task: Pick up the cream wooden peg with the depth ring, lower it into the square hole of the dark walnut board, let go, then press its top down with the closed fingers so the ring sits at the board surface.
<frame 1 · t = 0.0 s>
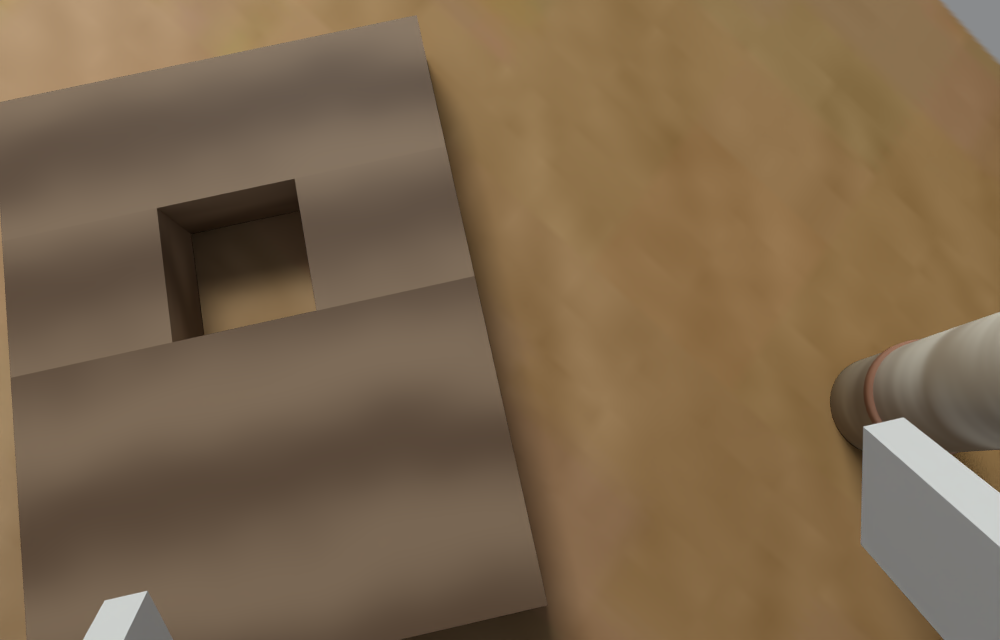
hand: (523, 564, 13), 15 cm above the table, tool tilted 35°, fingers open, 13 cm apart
peg: (879, 406, 28), on the table
board: (272, 346, 29), on the table
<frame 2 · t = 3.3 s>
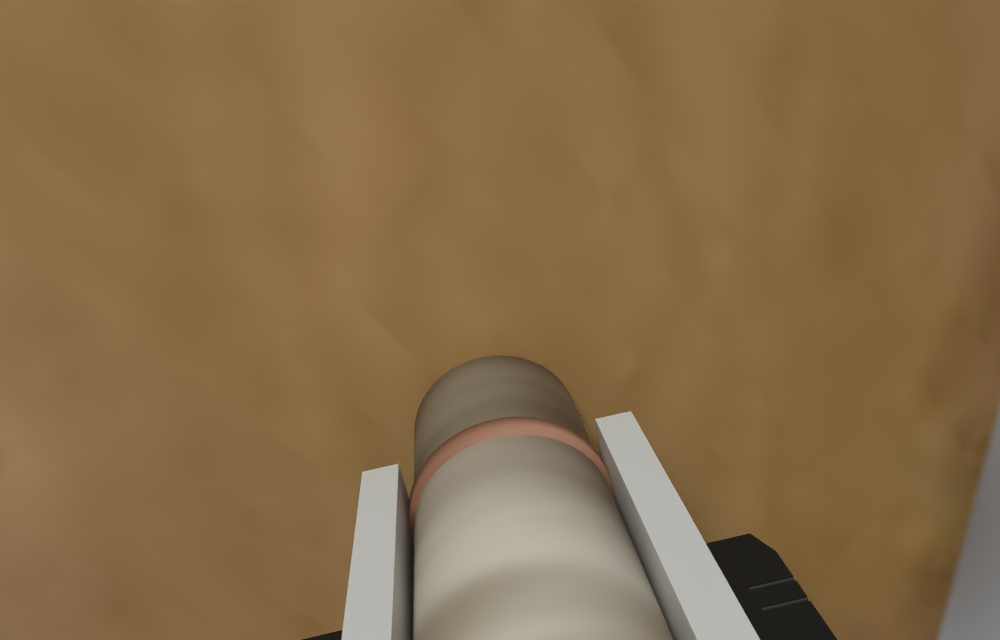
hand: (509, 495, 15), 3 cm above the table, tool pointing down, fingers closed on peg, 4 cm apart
peg: (496, 429, 17), on the table, touching gripper
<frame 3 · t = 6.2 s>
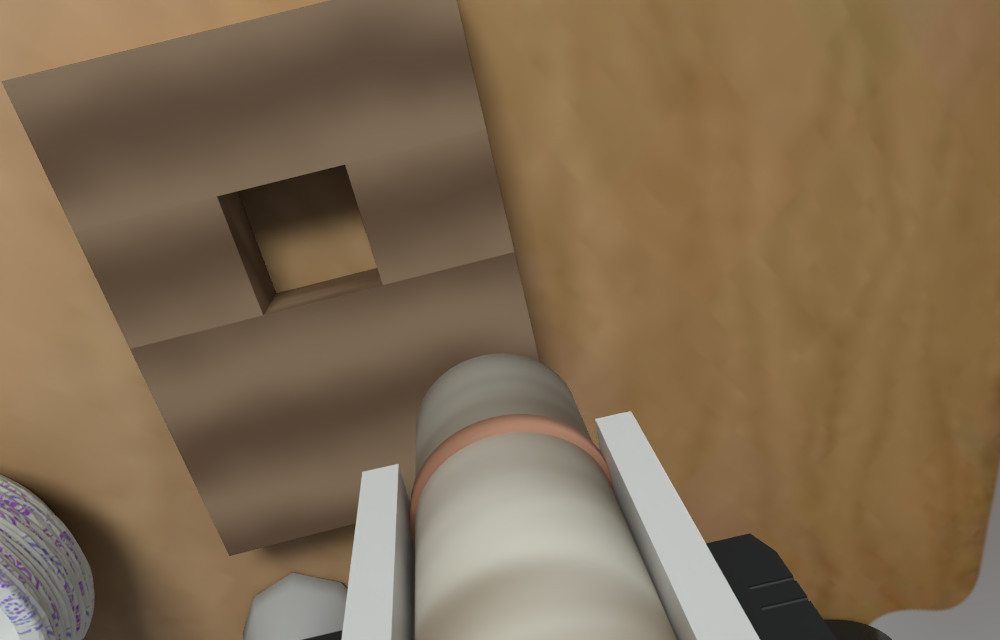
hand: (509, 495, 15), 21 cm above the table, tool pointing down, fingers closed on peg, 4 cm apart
peg: (497, 427, 17), point 19 cm above the table, touching gripper
board: (332, 283, 34), on the table
flask: (308, 616, 42), on the table
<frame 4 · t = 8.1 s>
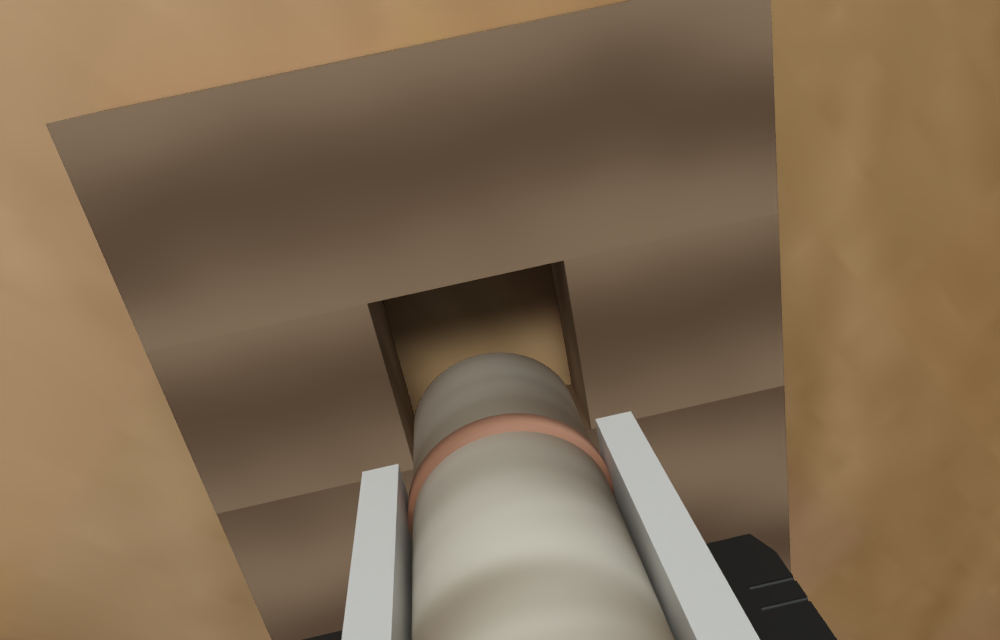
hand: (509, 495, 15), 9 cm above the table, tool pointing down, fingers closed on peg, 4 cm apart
peg: (495, 426, 17), point 7 cm above the table, touching gripper
board: (495, 407, 24), on the table
when the fingers open (4 cm above the table, at t = 9.5 s): peg drops 1 cm, resting in board.
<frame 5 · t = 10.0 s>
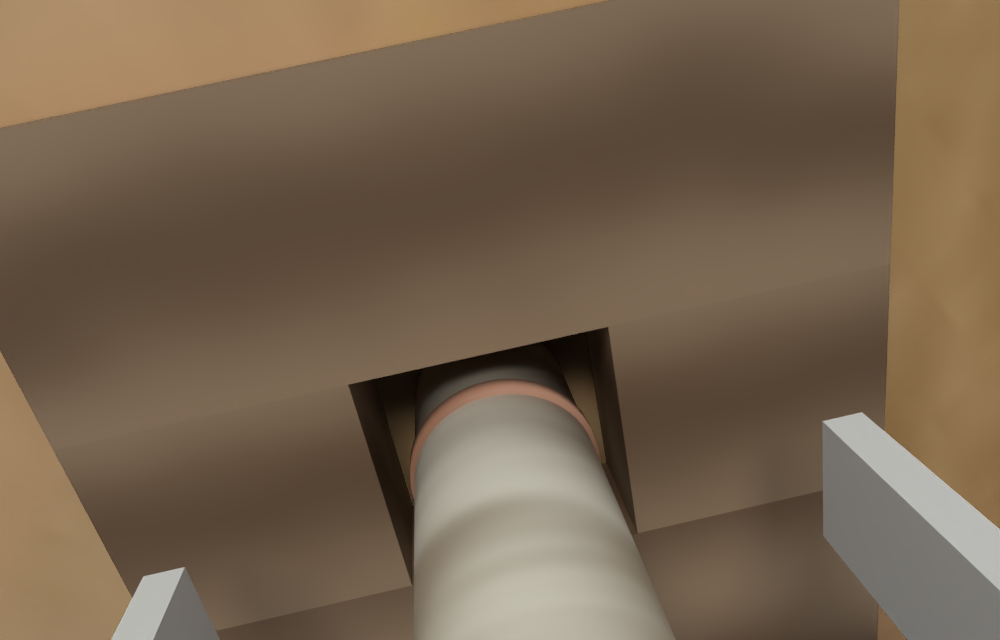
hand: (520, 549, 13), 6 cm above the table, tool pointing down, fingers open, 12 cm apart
peg: (491, 397, 18), resting in board
board: (511, 490, 20), on the table
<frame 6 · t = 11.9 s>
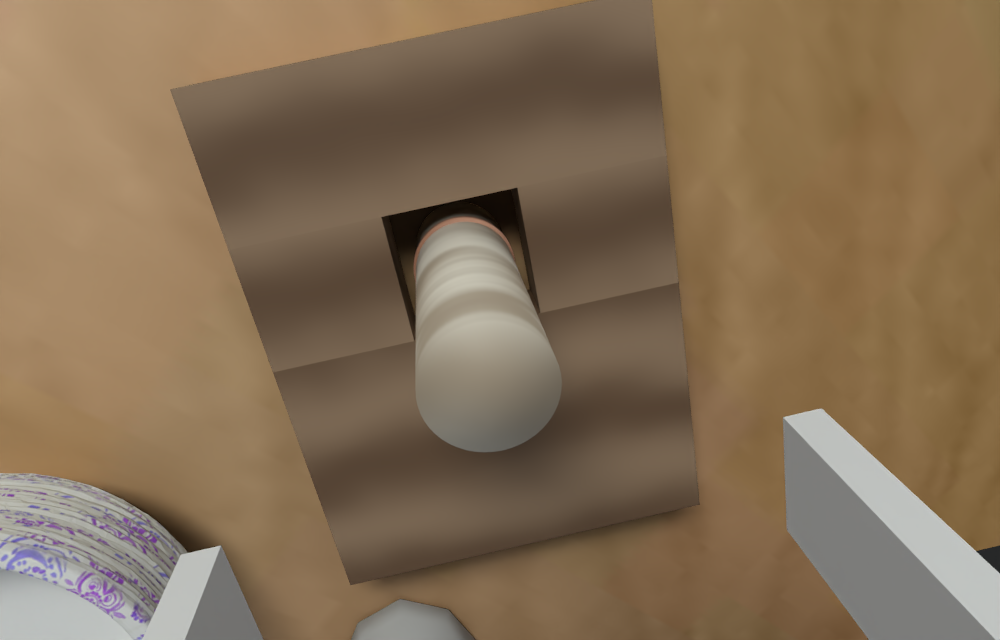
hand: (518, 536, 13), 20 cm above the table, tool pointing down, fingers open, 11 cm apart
paper bowls: (76, 556, 36), on the table
peg: (460, 245, 32), resting in board
board: (473, 306, 33), on the table
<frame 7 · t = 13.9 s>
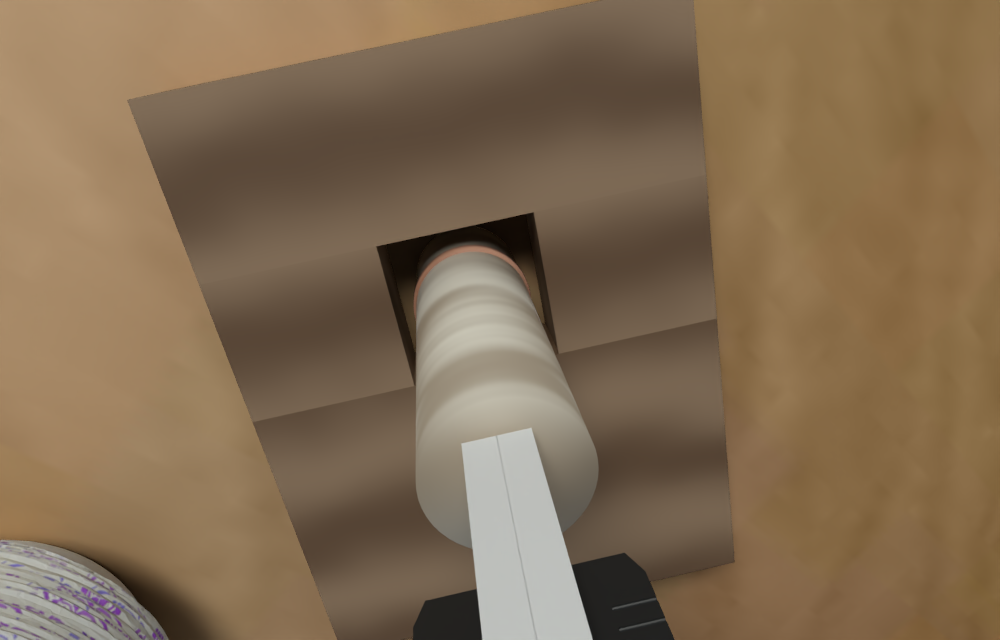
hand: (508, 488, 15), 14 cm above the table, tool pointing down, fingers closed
paper bowls: (36, 618, 32), on the table
peg: (466, 274, 28), resting in board, touching gripper
board: (481, 342, 29), on the table
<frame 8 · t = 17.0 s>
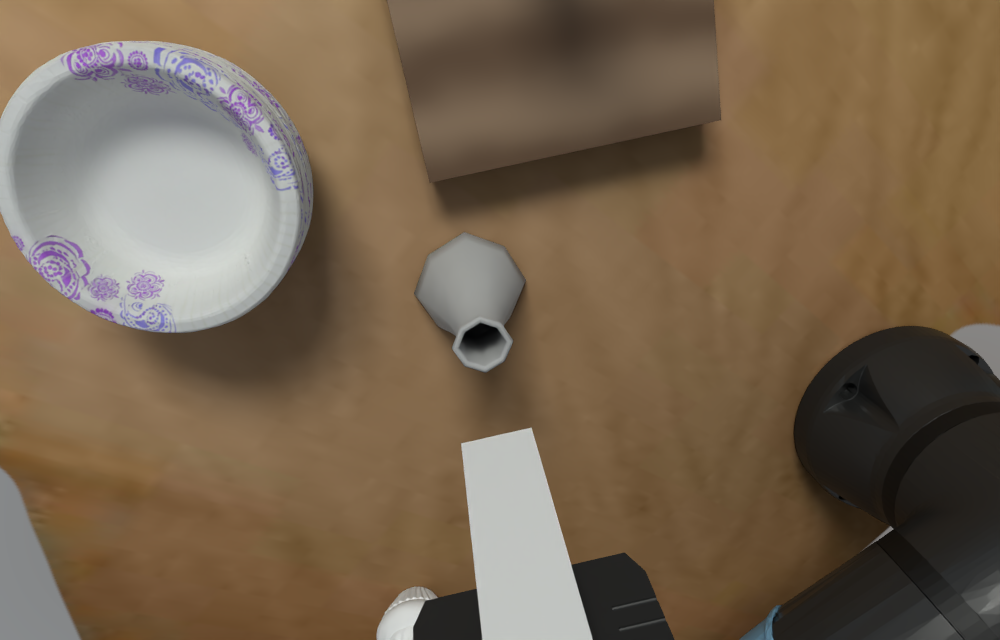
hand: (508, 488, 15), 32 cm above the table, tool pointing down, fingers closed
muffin: (416, 599, 58), on the table
paper bowls: (196, 172, 43), on the table
flask: (469, 284, 48), on the table
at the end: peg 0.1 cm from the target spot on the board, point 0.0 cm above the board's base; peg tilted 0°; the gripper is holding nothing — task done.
